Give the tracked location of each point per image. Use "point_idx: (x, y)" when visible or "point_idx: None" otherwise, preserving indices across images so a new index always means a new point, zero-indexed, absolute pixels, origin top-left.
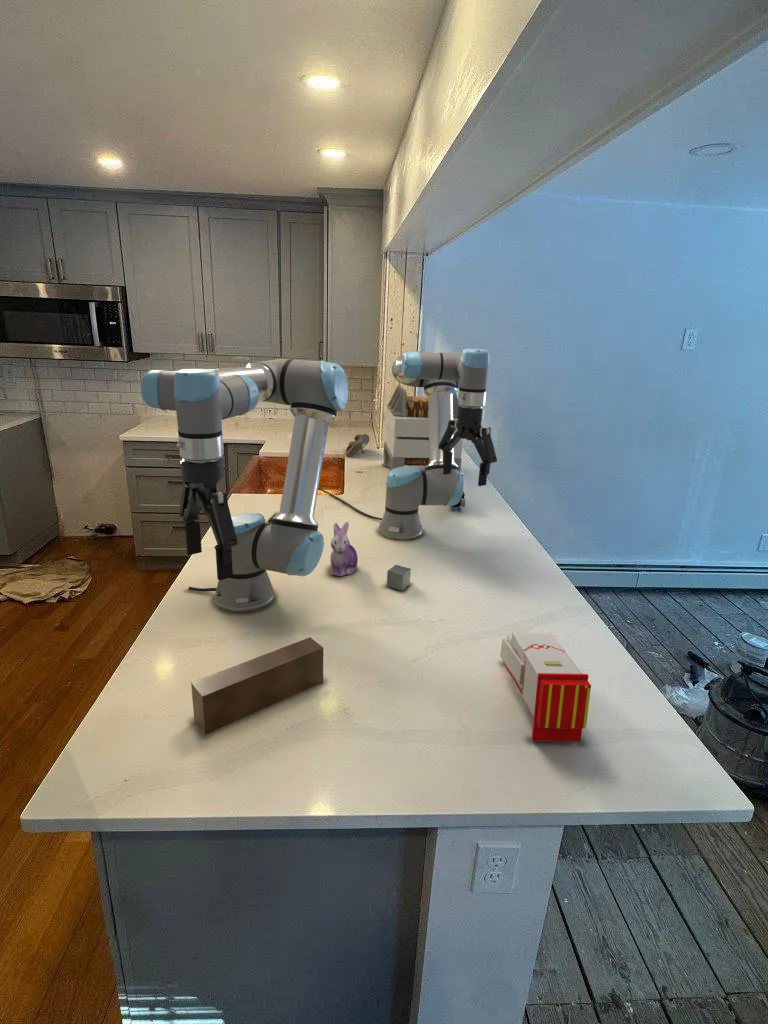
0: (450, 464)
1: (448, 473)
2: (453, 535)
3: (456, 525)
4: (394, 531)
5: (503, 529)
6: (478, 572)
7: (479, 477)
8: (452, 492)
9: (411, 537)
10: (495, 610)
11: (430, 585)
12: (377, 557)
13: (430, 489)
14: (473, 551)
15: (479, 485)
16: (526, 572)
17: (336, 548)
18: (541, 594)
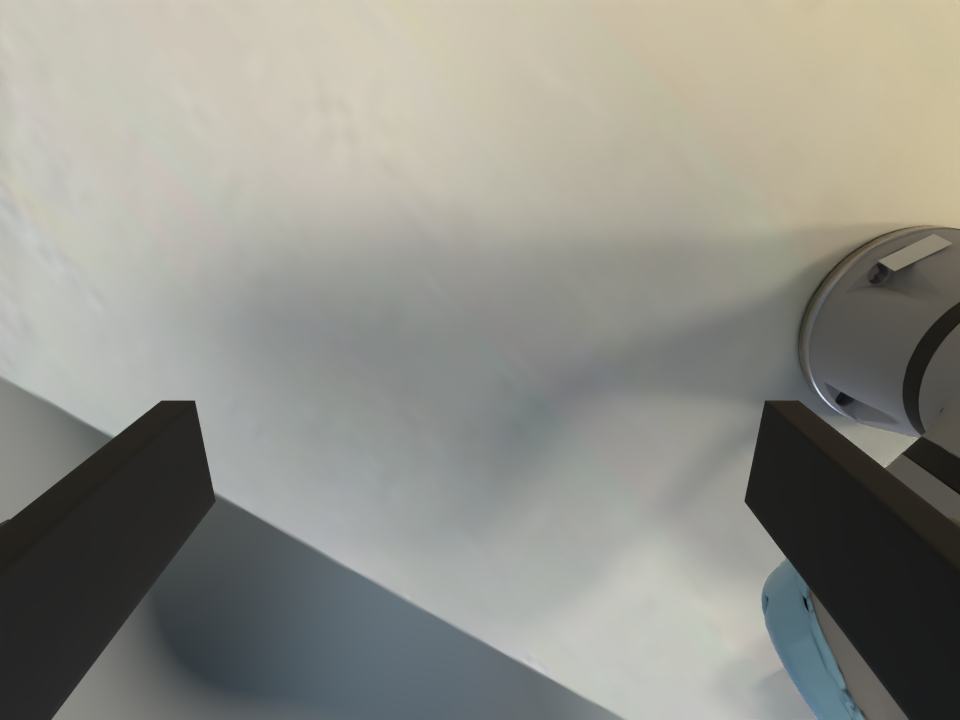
0: (818, 566)
1: (755, 463)
2: (704, 480)
3: (758, 558)
4: (901, 250)
5: (607, 652)
6: (400, 298)
7: (113, 456)
8: (814, 598)
9: (814, 309)
10: (113, 87)
11: (425, 18)
12: (802, 17)
13: (945, 513)
14: (547, 429)
15: (165, 404)
16: (301, 443)
17: None
18: (142, 346)
